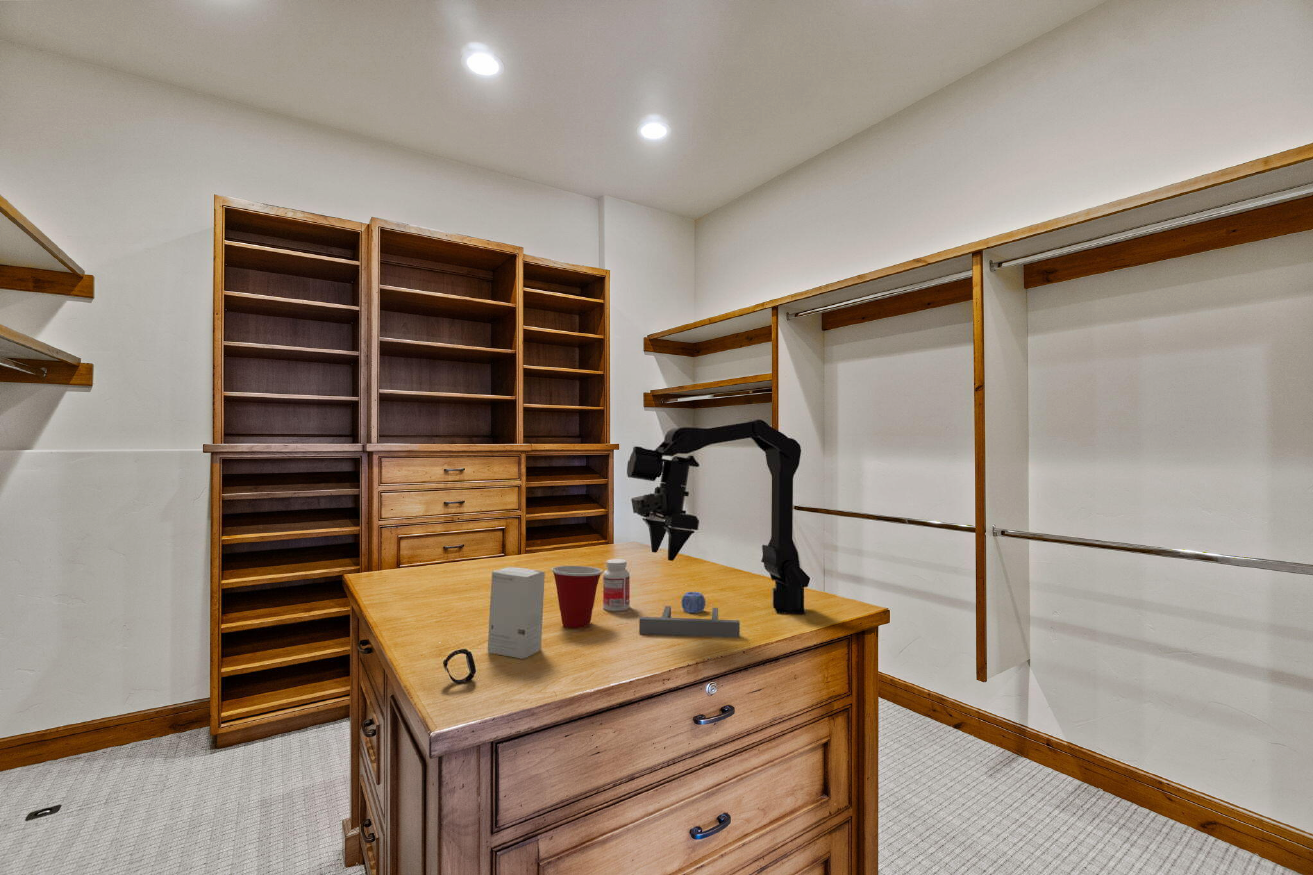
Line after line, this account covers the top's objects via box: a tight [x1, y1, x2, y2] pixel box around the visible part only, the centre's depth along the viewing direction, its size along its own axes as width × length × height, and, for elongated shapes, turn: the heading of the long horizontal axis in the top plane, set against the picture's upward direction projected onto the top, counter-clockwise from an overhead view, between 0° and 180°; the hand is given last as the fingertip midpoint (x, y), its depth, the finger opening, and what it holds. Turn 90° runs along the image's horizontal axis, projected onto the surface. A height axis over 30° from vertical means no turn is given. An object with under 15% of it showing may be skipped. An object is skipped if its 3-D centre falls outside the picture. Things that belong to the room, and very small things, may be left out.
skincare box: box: [487, 566, 546, 660], centre depth 104 cm, size 8×6×15 cm
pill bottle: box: [602, 558, 631, 612], centre depth 132 cm, size 6×6×11 cm
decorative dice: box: [680, 591, 706, 614], centre depth 130 cm, size 4×4×4 cm
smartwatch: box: [442, 648, 477, 685], centre depth 90 cm, size 4×5×5 cm
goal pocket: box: [638, 605, 741, 639], centre depth 117 cm, size 20×10×3 cm, turn 83°
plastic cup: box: [551, 565, 604, 630], centre depth 120 cm, size 11×11×12 cm
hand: (662, 556), depth 122 cm, fingers open, 9 cm apart
